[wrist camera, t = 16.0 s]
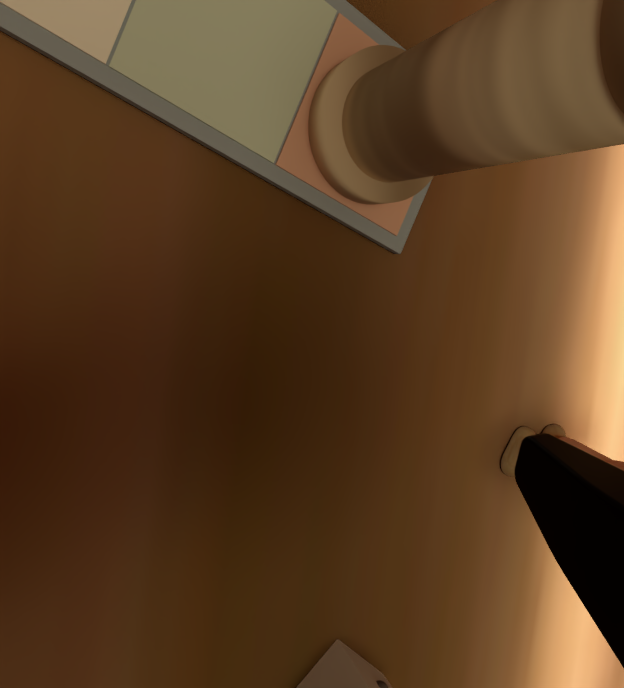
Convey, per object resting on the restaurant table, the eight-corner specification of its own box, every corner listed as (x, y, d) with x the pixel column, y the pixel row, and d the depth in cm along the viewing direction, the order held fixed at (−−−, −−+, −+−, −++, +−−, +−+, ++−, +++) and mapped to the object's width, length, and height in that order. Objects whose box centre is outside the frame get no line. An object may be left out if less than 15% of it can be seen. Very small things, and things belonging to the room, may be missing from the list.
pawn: (333, 223, 19) (759, 202, 7) (288, 75, 17) (756, -271, 5) (440, 180, 21) (926, 106, 9) (409, 41, 19) (965, -279, 7)
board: (-161, -61, 12) (-169, -72, 12) (-57, -321, 12) (-61, -342, 12) (394, 253, 21) (401, 254, 20) (458, 101, 21) (467, 99, 20)
